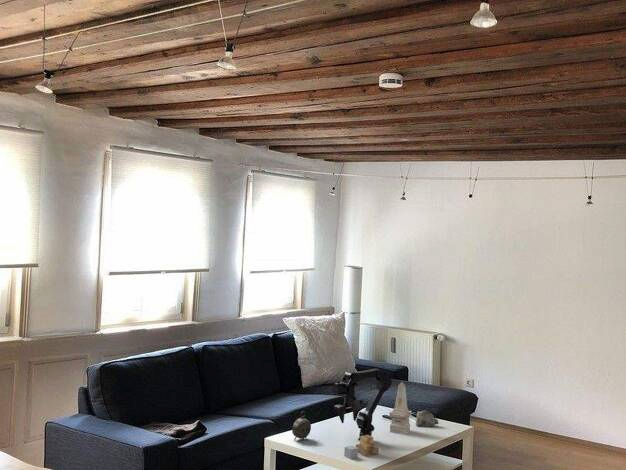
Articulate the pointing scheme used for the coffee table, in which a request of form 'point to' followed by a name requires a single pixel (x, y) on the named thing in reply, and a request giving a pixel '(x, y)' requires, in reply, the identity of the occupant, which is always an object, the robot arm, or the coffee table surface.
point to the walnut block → (367, 450)
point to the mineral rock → (425, 419)
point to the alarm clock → (301, 428)
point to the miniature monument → (400, 413)
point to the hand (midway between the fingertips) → (348, 421)
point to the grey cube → (351, 452)
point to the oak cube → (366, 441)
